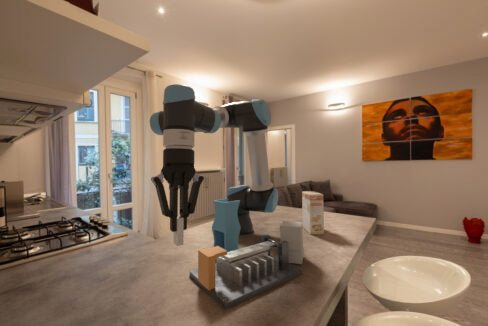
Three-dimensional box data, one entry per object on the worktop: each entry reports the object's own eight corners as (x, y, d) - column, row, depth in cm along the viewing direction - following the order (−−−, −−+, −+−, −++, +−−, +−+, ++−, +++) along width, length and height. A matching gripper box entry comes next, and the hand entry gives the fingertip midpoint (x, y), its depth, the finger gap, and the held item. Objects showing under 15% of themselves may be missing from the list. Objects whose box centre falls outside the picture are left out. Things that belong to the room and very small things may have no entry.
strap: (219, 257, 65) (219, 251, 65) (269, 242, 77) (269, 238, 77) (231, 264, 60) (231, 258, 60) (282, 247, 72) (282, 242, 72)
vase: (240, 251, 85) (240, 200, 86) (225, 258, 80) (225, 202, 80) (227, 247, 91) (226, 198, 91) (211, 252, 85) (211, 200, 85)
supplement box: (303, 256, 81) (303, 221, 81) (302, 264, 74) (301, 227, 74) (283, 253, 83) (283, 220, 83) (280, 262, 76) (279, 225, 76)
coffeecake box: (324, 234, 106) (324, 194, 106) (309, 234, 106) (309, 194, 107) (315, 226, 121) (314, 191, 121) (302, 226, 121) (301, 191, 122)
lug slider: (198, 280, 61) (198, 250, 61) (217, 274, 64) (216, 245, 64) (208, 290, 56) (208, 257, 56) (228, 282, 59) (228, 251, 60)
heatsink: (189, 276, 66) (189, 247, 67) (259, 253, 83) (259, 231, 84) (225, 310, 51) (224, 272, 51) (302, 273, 67) (301, 245, 68)
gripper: (156, 145, 48) (155, 254, 47) (209, 148, 56) (209, 242, 55) (147, 148, 54) (146, 245, 53) (196, 150, 62) (196, 235, 61)
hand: (178, 243), depth 54 cm, fingers closed
